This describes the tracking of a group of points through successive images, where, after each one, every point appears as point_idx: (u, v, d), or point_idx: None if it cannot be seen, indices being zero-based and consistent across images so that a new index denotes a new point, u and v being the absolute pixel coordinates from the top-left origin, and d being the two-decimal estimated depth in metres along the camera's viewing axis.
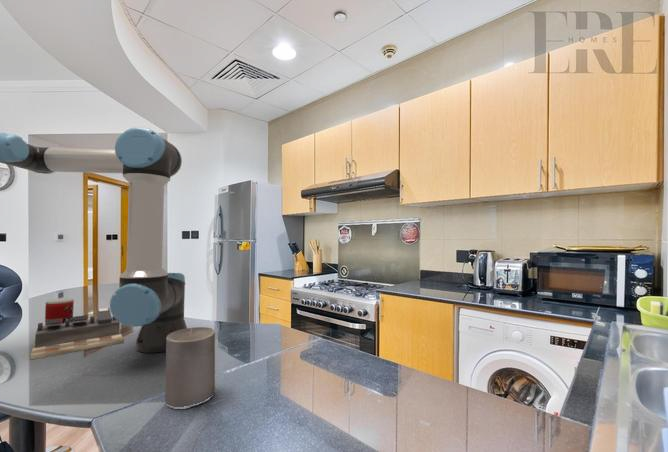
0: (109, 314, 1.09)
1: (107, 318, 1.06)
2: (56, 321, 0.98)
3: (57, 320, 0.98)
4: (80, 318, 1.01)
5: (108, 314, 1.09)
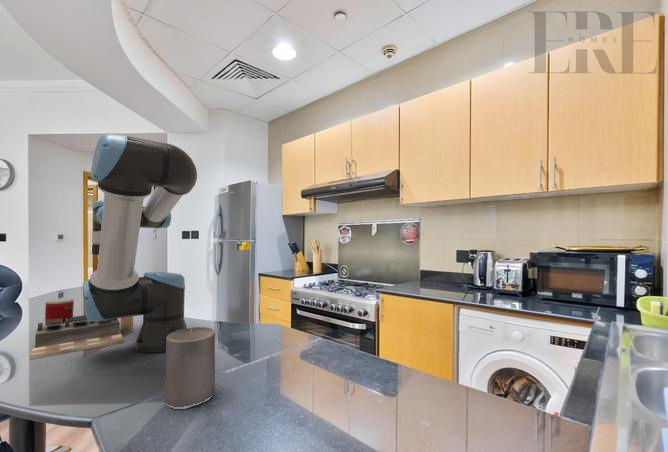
0: None
1: None
2: (56, 321, 0.98)
3: (57, 320, 0.98)
4: (80, 318, 1.01)
5: None
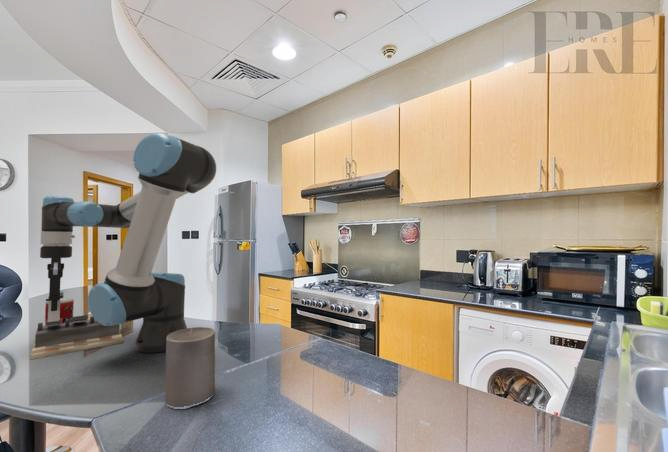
0: None
1: None
2: (56, 323, 0.98)
3: (57, 322, 0.98)
4: (80, 318, 1.01)
5: None
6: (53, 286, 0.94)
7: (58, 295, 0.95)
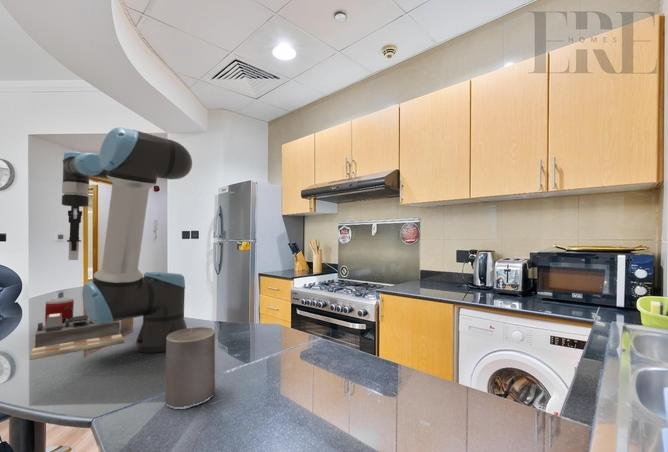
0: None
1: None
2: (56, 328, 0.98)
3: (57, 328, 0.98)
4: (80, 318, 1.01)
5: None
6: (73, 228, 1.10)
7: (77, 237, 1.11)
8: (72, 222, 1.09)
